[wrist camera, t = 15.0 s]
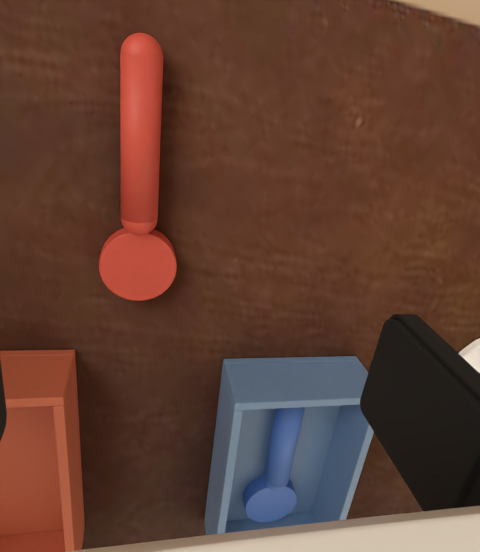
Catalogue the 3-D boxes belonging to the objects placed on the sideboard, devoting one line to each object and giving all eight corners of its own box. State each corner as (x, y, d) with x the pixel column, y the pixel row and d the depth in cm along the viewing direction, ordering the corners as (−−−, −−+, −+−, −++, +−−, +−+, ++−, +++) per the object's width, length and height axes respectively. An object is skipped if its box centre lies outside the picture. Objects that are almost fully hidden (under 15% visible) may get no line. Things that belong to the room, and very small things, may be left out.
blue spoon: (261, 379, 31) (268, 398, 30) (318, 377, 32) (328, 395, 31) (239, 512, 37) (244, 534, 36) (288, 507, 38) (295, 528, 37)
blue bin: (314, 509, 40) (333, 560, 36) (204, 521, 38) (211, 576, 34) (356, 355, 33) (385, 396, 29) (223, 358, 31) (234, 403, 27)
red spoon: (95, 27, 21) (90, 24, 19) (187, 40, 22) (191, 38, 20) (101, 291, 27) (98, 307, 25) (173, 292, 28) (175, 308, 26)
